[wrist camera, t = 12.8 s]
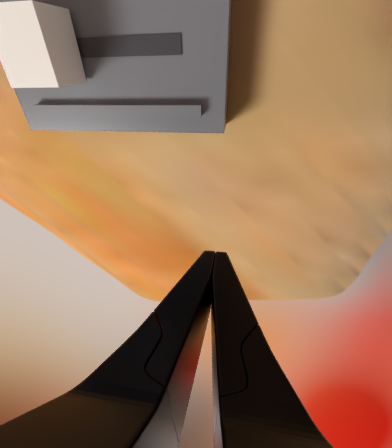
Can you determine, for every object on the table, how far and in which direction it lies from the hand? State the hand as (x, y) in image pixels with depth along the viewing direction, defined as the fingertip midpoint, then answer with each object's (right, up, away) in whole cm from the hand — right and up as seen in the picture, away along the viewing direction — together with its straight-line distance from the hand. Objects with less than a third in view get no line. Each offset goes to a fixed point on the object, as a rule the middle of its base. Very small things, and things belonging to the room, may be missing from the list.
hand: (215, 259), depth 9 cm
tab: (-9, +12, +6) cm, 17 cm away
